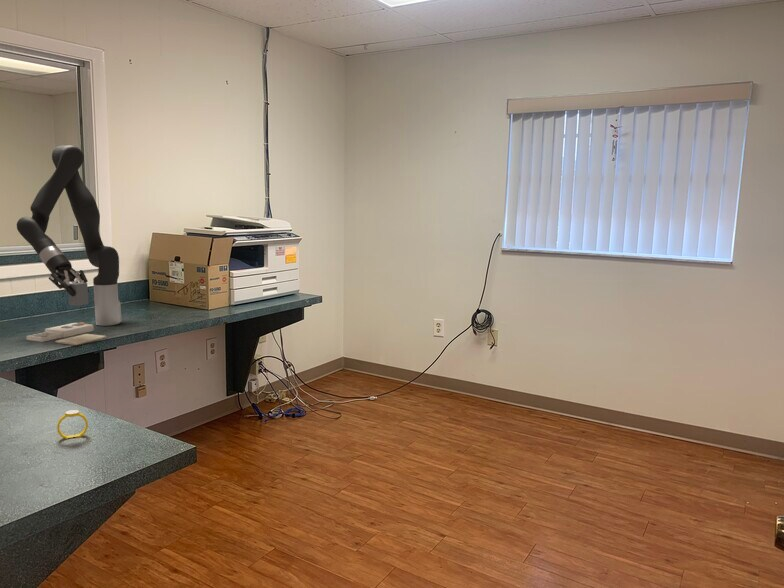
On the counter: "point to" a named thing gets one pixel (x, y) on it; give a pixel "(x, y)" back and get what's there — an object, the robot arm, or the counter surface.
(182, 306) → the counter surface
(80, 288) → the plug
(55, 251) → the robot arm
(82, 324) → the power strip
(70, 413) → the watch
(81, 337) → the rubber mat
